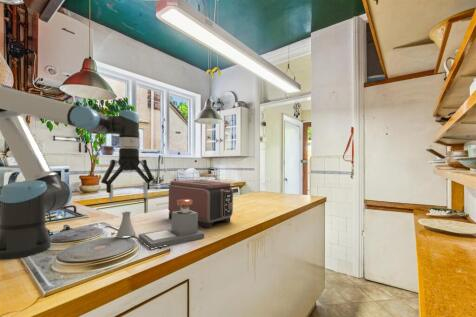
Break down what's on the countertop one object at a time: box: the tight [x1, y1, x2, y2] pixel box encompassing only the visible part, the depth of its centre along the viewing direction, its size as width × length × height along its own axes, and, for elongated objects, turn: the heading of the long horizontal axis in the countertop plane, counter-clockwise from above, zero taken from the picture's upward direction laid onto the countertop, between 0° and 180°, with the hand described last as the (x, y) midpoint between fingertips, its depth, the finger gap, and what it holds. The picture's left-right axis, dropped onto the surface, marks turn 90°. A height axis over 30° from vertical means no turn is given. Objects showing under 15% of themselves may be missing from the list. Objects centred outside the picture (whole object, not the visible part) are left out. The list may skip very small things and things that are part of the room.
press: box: [138, 210, 205, 249], centre depth 97 cm, size 22×14×10 cm, turn 130°
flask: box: [115, 211, 136, 237], centre depth 99 cm, size 7×7×10 cm
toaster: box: [168, 179, 234, 229], centre depth 127 cm, size 19×36×21 cm, turn 53°
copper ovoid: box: [177, 199, 193, 214], centre depth 101 cm, size 6×6×8 cm
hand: (129, 199), depth 99 cm, fingers open, 13 cm apart
